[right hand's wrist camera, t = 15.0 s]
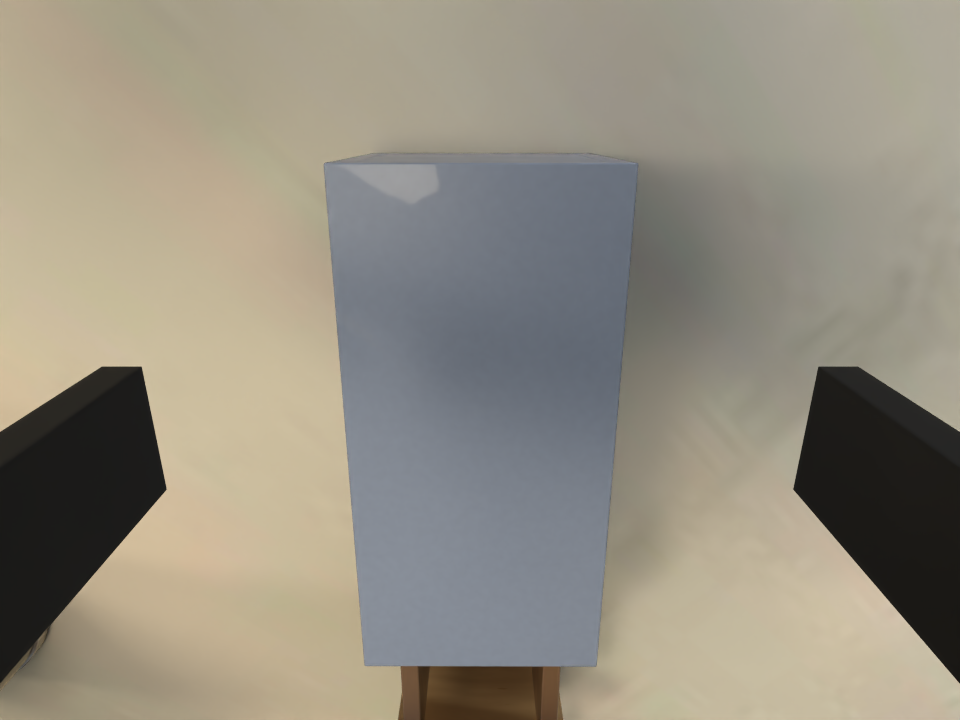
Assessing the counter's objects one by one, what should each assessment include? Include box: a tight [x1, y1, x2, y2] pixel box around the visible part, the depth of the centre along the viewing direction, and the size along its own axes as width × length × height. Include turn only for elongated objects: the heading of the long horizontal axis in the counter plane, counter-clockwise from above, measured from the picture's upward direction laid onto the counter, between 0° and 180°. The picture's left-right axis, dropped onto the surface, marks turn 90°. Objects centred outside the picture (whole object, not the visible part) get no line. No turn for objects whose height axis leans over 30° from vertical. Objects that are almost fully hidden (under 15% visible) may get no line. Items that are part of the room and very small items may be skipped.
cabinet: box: [324, 153, 638, 667], centre depth 27 cm, size 20×10×9 cm, turn 0°
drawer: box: [398, 666, 563, 720], centre depth 32 cm, size 25×9×7 cm, turn 0°
